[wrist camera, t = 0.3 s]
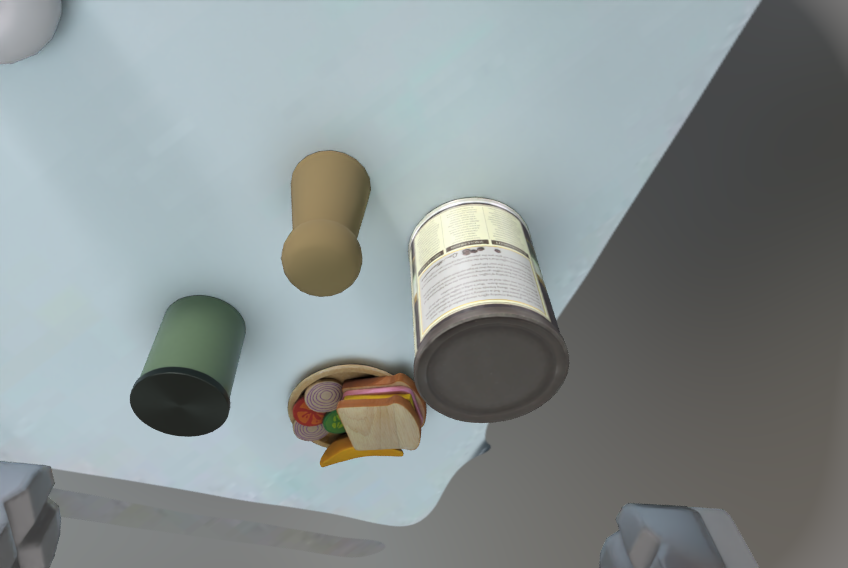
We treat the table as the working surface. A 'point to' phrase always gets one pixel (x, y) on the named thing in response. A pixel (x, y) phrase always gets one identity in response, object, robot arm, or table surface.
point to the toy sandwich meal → (357, 412)
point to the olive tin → (190, 368)
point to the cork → (326, 223)
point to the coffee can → (482, 315)
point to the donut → (26, 27)
